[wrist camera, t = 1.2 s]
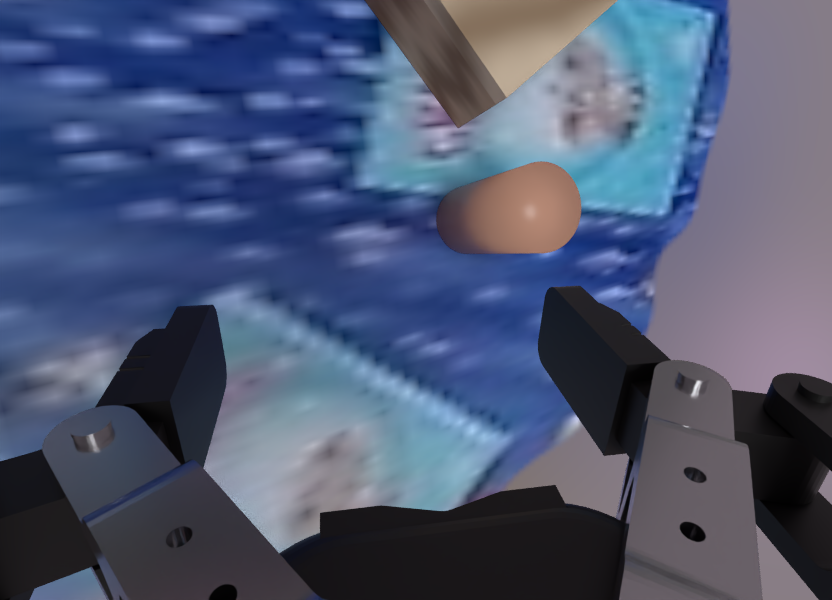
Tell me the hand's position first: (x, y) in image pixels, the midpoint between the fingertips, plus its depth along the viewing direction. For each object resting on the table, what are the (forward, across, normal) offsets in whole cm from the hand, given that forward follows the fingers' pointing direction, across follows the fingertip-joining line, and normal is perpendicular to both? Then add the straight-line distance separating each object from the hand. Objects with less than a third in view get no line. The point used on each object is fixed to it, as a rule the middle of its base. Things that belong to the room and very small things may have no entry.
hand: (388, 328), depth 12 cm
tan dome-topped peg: (+27, -10, +6) cm, 30 cm away
